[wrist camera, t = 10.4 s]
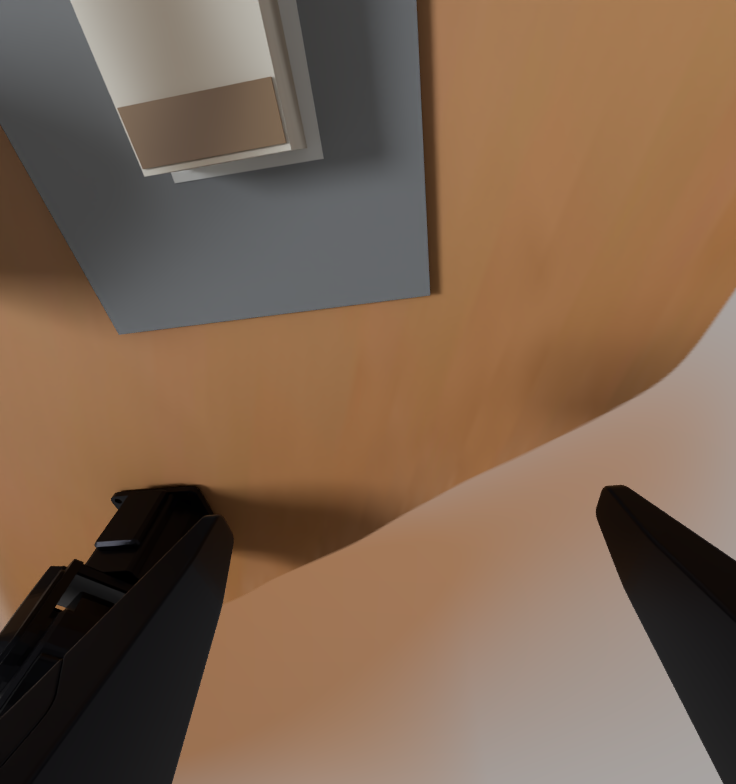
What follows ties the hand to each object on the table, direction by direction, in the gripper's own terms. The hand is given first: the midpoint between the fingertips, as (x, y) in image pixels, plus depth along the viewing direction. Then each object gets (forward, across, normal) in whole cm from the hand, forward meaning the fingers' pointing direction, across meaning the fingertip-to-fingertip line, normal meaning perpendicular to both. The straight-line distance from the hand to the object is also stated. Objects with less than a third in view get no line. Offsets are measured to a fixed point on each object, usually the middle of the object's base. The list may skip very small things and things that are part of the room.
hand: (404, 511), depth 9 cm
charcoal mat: (+12, +6, -8) cm, 16 cm away
